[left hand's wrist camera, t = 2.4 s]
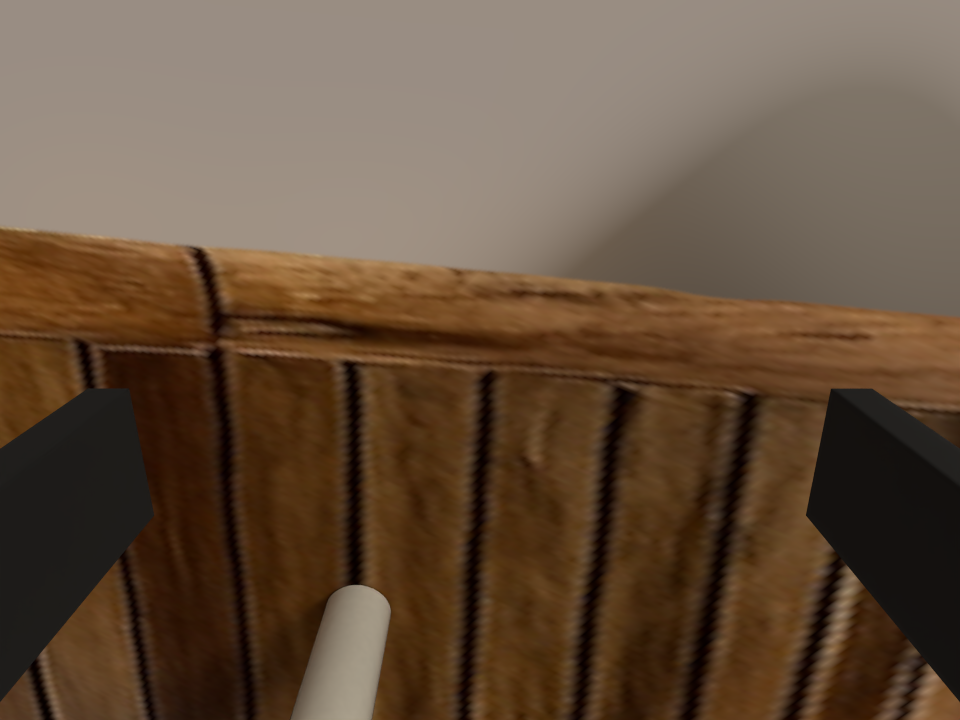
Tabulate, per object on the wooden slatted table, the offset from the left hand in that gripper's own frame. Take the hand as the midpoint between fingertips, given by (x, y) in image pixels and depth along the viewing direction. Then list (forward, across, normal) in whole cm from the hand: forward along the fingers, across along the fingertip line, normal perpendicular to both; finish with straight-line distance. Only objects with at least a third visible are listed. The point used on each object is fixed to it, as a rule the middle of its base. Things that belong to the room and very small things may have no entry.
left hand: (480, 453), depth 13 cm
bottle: (+28, +9, +28) cm, 41 cm away
